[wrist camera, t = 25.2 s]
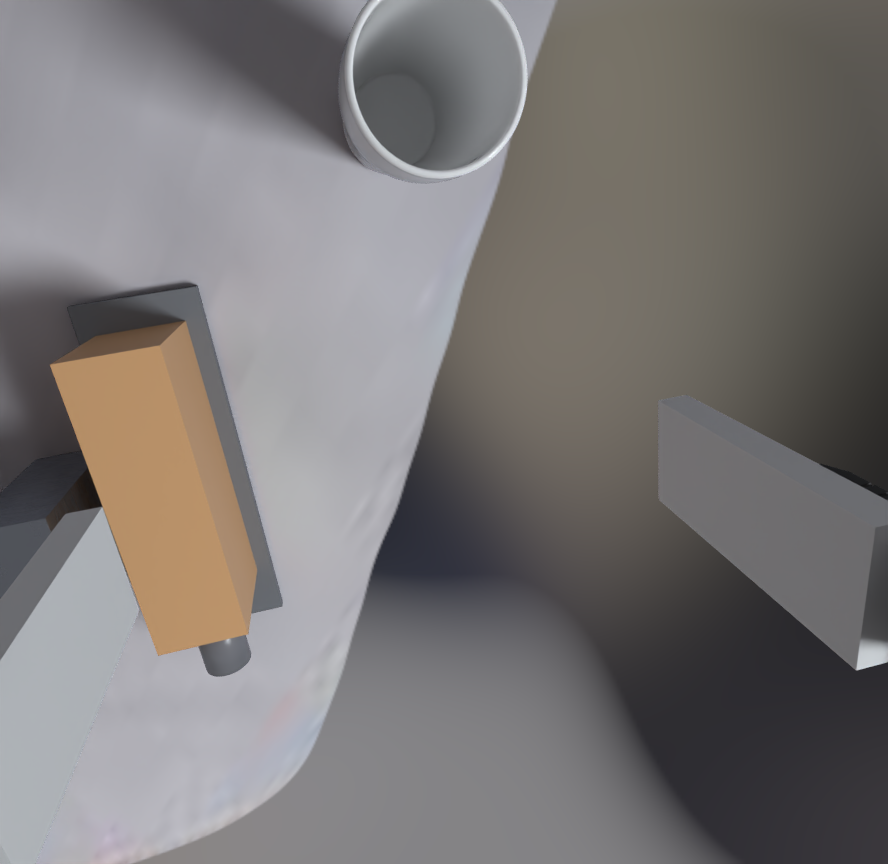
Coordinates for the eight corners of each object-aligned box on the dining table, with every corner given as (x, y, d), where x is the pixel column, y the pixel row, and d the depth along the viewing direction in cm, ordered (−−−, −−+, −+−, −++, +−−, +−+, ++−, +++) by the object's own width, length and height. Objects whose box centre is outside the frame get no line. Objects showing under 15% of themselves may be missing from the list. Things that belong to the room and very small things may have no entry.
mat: (70, 305, 37) (66, 307, 36) (197, 285, 37) (195, 286, 37) (180, 624, 44) (178, 630, 44) (282, 601, 45) (282, 606, 45)
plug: (95, 336, 37) (49, 364, 30) (185, 320, 37) (159, 345, 31) (197, 636, 44) (178, 710, 38) (271, 618, 45) (265, 689, 38)
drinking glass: (449, 187, 38) (529, 179, 25) (334, 190, 37) (349, 183, 23) (447, 57, 36) (533, -33, 22) (324, 56, 35) (334, -40, 21)
